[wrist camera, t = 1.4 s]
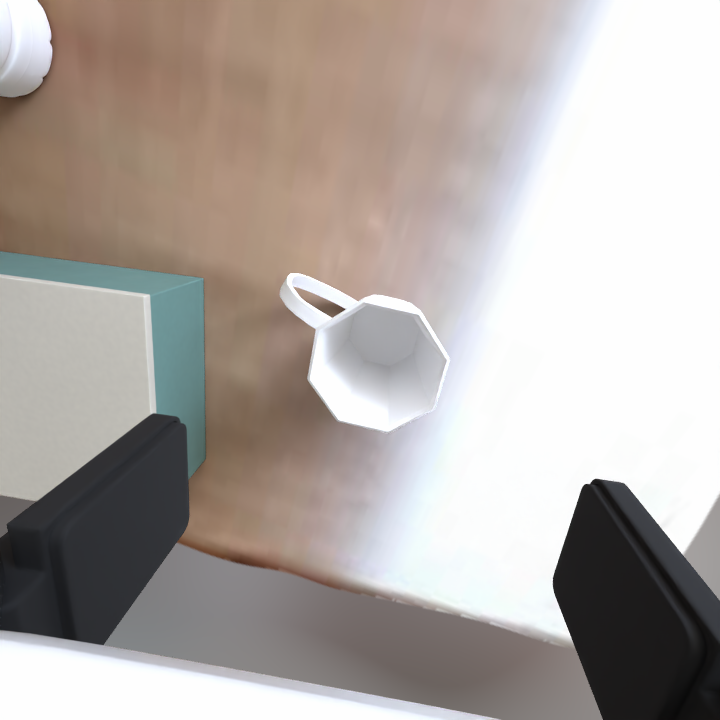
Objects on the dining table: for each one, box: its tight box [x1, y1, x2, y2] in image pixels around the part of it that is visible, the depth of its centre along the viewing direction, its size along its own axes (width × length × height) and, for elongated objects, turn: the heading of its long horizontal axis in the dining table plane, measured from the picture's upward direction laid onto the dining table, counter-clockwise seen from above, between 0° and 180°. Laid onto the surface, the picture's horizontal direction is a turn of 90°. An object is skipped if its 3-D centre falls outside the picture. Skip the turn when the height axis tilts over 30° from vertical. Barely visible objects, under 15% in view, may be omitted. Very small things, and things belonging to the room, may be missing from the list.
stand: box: [0, 251, 206, 501], centre depth 28 cm, size 14×16×7 cm
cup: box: [280, 273, 450, 434], centre depth 24 cm, size 7×10×8 cm
